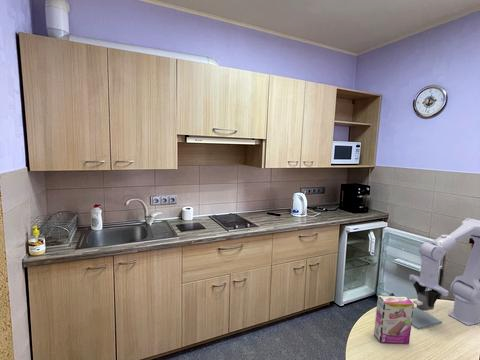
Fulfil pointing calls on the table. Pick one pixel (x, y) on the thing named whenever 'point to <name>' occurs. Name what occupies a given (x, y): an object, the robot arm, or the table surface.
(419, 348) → the table surface
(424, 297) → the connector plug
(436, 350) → the table surface
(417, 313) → the slate mat
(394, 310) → the candy bar box
